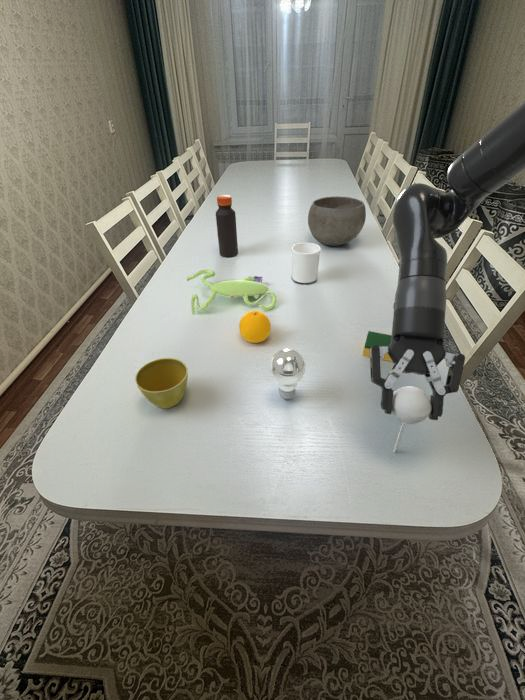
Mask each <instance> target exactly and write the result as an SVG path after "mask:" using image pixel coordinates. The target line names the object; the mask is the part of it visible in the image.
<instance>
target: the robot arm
mask: <svg viewBox="0 0 525 700" xmlns="http://www.w3.org/2000/svg"><path fill="white" fill-rule="evenodd" d="M524 171H525V101H524V102H523V103H521V104H520V105H519V106H518V107H516V108H515V109H514V110H512V112H510V113H509V114H507V115H506V116H505V117H503V119H501V120H500V121H499V122H498V123H496V124H495V125H494V126H493V127H492V128H490V129H489V130H488V131H487V132H485V133H484V135H482V136H481V137H480V138H478V139H477V140H476V141H475V142H473V144H471V146H469V147H468V148H467V149H466V150H465V151H464V152H462V153H461V154H460V155H459V156H457V158H455V159H454V161H453V162H452V163H451V164H450V166H449V167H448V169H447V172H446V179H447V183H448V185H449V187H450V189H451V190H449V191H447V192H444V191H442V190H440V189H438V188H435V187H433V186H432V185H429V184H426V183H420V182H418V183H413V184H411V185H409V186H407V187H405V188H404V189H403V190H402V191H401V192H400V194H399V196H398V197H397V199H396V201H395V204H394V208H393V213H392V223H393V229H394V235H395V242H396V246H397V251H398V256H399V266H398V279H397V286H396V291H395V296H394V302H393V306H392V307H393V314H392V326H391V335H392V337H391V342H390V344H389V345H388V346H380V347H379V346H377V345H374V346H372V347H371V348H370V357H369V369H370V370H369V371H370V382H371V383H372V384H374V385H377V386H378V387H380V388H381V398H380V409H381V410H383V412H384V414H388V415H391V414H392V401H393V392H394V390H393V387H394V386H395V384H396V382H397V380H398V379H399V378H400V377H401V376H402V374H415V375H417V376H424V378H425V381H426V382H427V383H428V385H429V388H430V390H431V392H432V394H430V396H429V400H430V403H431V406H432V408H431V413H430V415H429V416H428V419H429V420H431V421H438V420H439V417H440V418H441V417H442V416H443V413H444V401H445V400H444V398H445V396H446V395H448V394H452V393H458V392H459V389H460V385H461V382H462V381H461V380H462V375H463V370H464V366H465V361H466V355H464V354H463V353H452V352H447V351H446V349H445V347H444V336H445V323H446V310H447V309H446V308H447V286H446V285H447V270H448V253H447V250H446V248H445V247H444V246H443V245H442V244H441V243H439V242H438V241H437V240H436V239H441V238H444V237H446V236H448V235H450V234H453V232H455V231H456V230H457V229H459V228H460V226H461V225H462V224H463V223H464V222H465V221H466V220H467V219H468V218H469V216H470V215H471V214H473V212H474V211H475V210H476V209H477V208H478V207H479V206H480V205H481V203H482V202H483V201H484V200H485V199H486V198H487V197H488V196H490V195H492V194H493V193H494V192H495V191H498V190H499V189H501V187H503V186H504V185H506V184H507V183H509V182H510V181H511V180H513V179H515V178H516V177H518V175H520V174H522V173H523V172H524ZM385 353H388V354H389V356H390V358H391V359H392V361H393V362H392V363H393V365H392V367H391V369H390V370H389V371H388V373H387V376H386V377H385V378H383V377H382V370H381V369H382V368H381V367H382V366H381V361H382V360H381V359H383V358H384V356H385ZM444 360H445V366H446V367H448V371H447V375H446V379H445V380H446V381H445V384H444V383H443V380H442V376H441V374H440V371H439V369H438V365H439V364H440V363H441V362H442V361H444Z"/></svg>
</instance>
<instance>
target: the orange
mask: <svg viewBox="0 0 525 700" xmlns="http://www.w3.org/2000/svg"><path fill="white" fill-rule="evenodd" d="M238 330H239V334H240V336H241V337H242V338H243V340H245V341H246V342H248V343H253V344H257V343H261V342H264V341H265V340H267V339H268V337H269V336H270V333H271V330H272V324H271V320H270V319H269V317H268V315H266V314H265V312H262V311H260V310H249V311H248V312H246V313H244V314H243V315H242V317H241V318H240V320H239V325H238Z"/></svg>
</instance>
